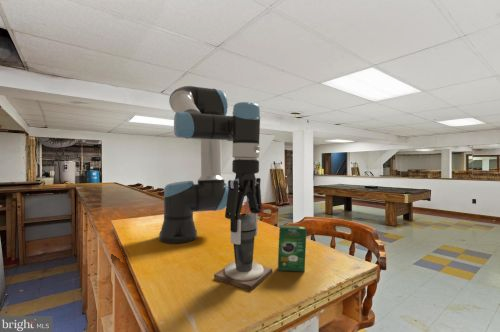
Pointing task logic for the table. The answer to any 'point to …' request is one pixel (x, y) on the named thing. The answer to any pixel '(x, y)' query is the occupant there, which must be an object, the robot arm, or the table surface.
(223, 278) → the mount
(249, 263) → the beverage cup
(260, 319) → the table surface
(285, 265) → the coffee box
